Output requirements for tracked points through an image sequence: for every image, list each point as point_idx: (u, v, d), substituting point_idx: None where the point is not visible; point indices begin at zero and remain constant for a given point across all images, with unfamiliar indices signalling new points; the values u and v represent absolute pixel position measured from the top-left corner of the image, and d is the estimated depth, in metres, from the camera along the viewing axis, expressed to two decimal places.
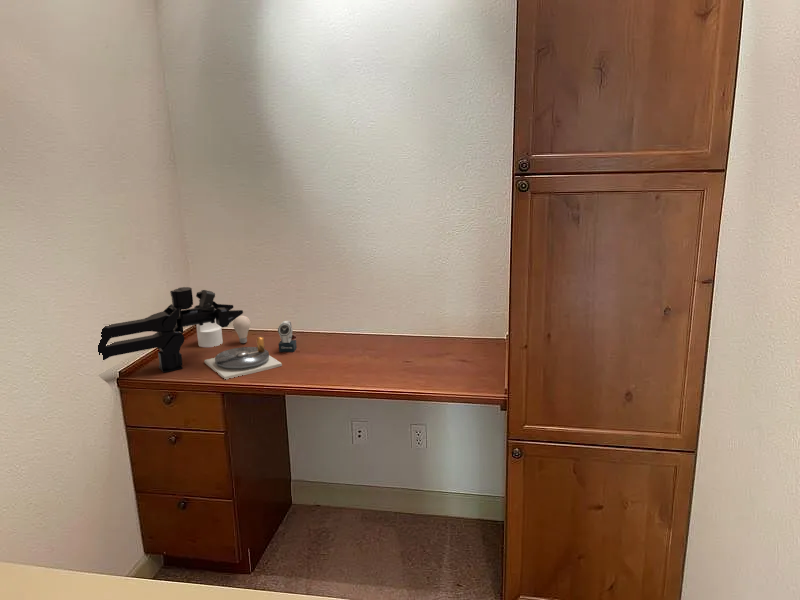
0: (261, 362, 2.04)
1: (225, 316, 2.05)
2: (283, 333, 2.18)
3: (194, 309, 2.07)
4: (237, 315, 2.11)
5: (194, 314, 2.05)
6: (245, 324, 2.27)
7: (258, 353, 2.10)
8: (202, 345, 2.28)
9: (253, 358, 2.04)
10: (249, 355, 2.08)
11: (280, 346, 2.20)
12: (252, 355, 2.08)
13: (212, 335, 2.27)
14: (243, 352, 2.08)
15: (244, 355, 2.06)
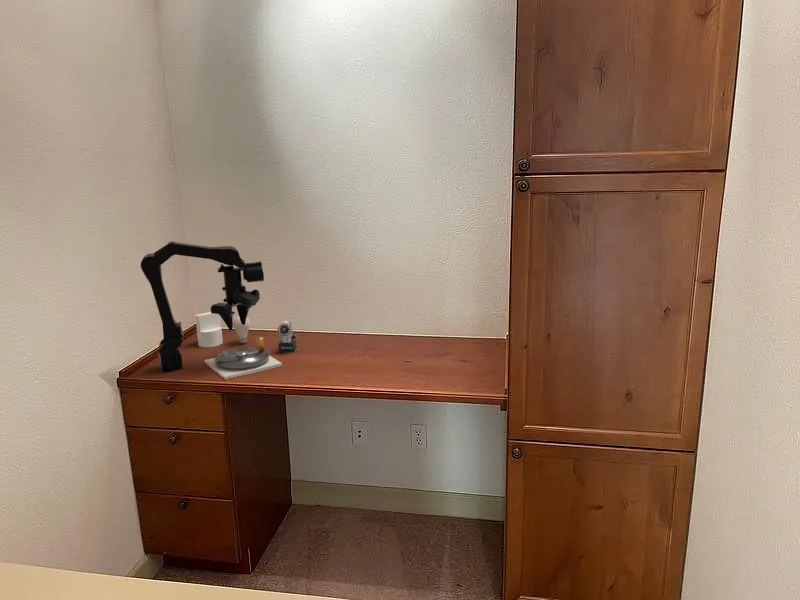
0: (261, 362, 2.04)
1: (218, 312, 2.00)
2: (283, 333, 2.18)
3: (238, 284, 2.05)
4: (226, 323, 2.06)
5: (237, 283, 2.04)
6: (245, 324, 2.27)
7: (258, 353, 2.10)
8: (202, 345, 2.28)
9: (253, 358, 2.04)
10: (249, 355, 2.08)
11: (280, 346, 2.20)
12: (252, 355, 2.08)
13: (212, 335, 2.27)
14: (243, 352, 2.08)
15: (244, 355, 2.06)
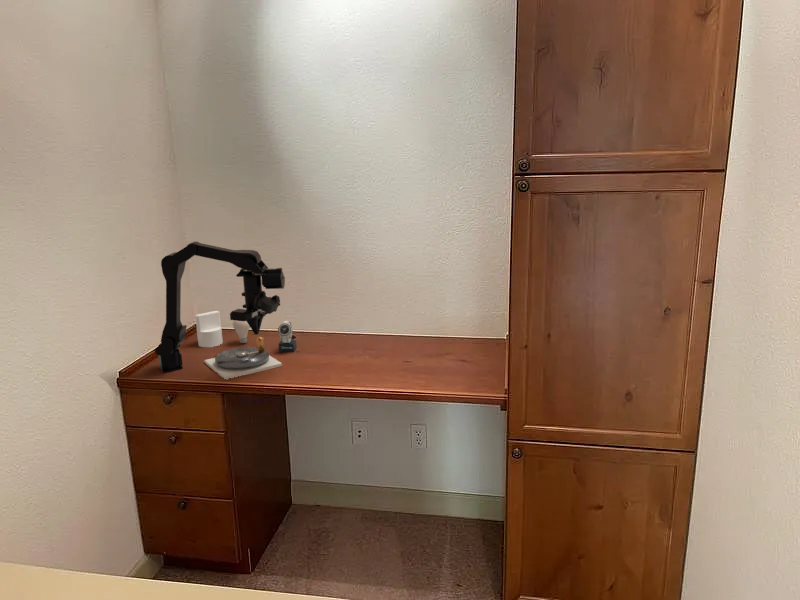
0: (261, 362, 2.04)
1: (238, 319, 1.93)
2: (283, 333, 2.18)
3: (258, 290, 1.98)
4: (252, 328, 2.02)
5: (255, 289, 1.97)
6: (245, 324, 2.27)
7: (258, 353, 2.10)
8: (202, 345, 2.28)
9: (253, 358, 2.04)
10: (249, 355, 2.08)
11: (280, 346, 2.20)
12: (252, 355, 2.08)
13: (212, 335, 2.27)
14: (243, 352, 2.08)
15: (244, 355, 2.06)
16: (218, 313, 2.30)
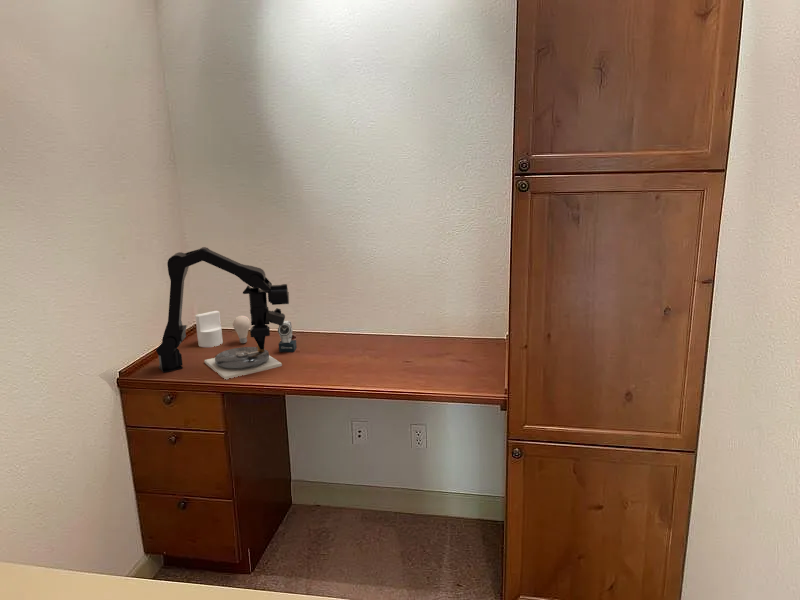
0: (261, 362, 2.04)
1: (262, 334, 1.98)
2: (283, 333, 2.18)
3: (266, 305, 2.05)
4: (259, 343, 2.07)
5: (261, 305, 2.03)
6: (245, 324, 2.27)
7: (258, 353, 2.10)
8: (202, 345, 2.28)
9: (253, 358, 2.04)
10: (249, 355, 2.08)
11: (280, 346, 2.20)
12: (252, 355, 2.08)
13: (212, 335, 2.27)
14: (243, 352, 2.08)
15: (244, 355, 2.06)
16: (218, 313, 2.30)
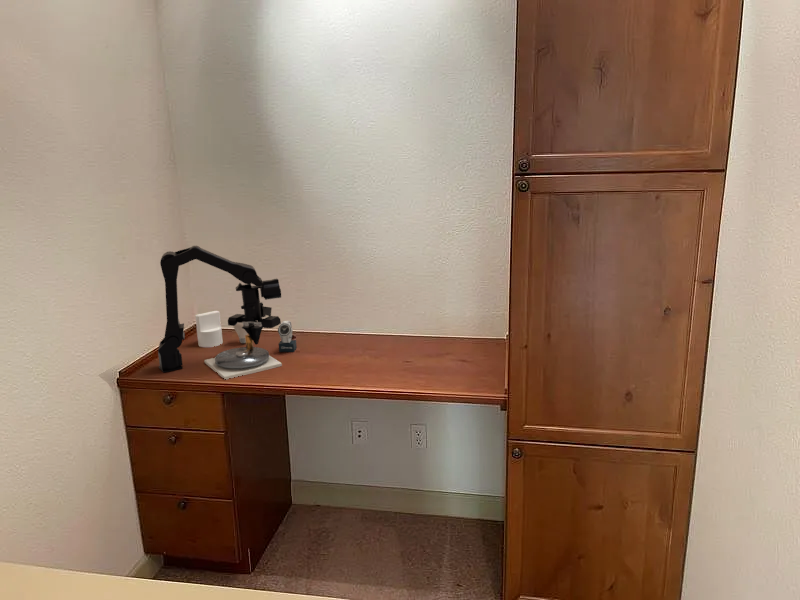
0: None
1: (277, 323, 2.08)
2: (283, 333, 2.18)
3: None
4: (256, 338, 2.12)
5: (255, 300, 2.08)
6: None
7: (252, 350, 2.13)
8: (202, 345, 2.28)
9: (259, 354, 2.09)
10: (249, 353, 2.10)
11: (280, 346, 2.20)
12: (251, 352, 2.10)
13: (212, 335, 2.27)
14: (242, 352, 2.08)
15: (247, 354, 2.08)
16: (218, 313, 2.30)
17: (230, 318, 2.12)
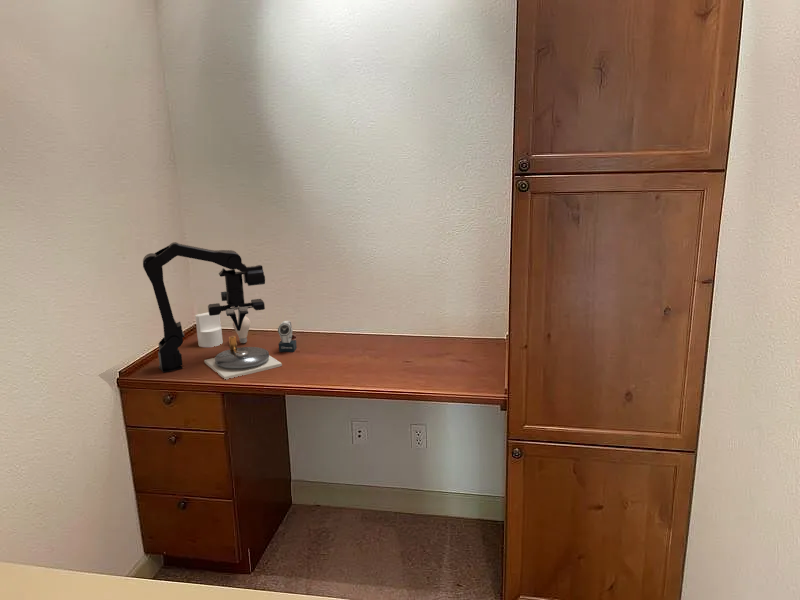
0: None
1: None
2: (283, 333, 2.18)
3: None
4: None
5: (239, 286, 2.07)
6: (245, 324, 2.27)
7: (240, 350, 2.13)
8: (202, 345, 2.28)
9: (255, 350, 2.13)
10: None
11: (280, 346, 2.20)
12: None
13: (212, 335, 2.27)
14: (241, 352, 2.08)
15: None
16: None
17: (212, 308, 2.05)
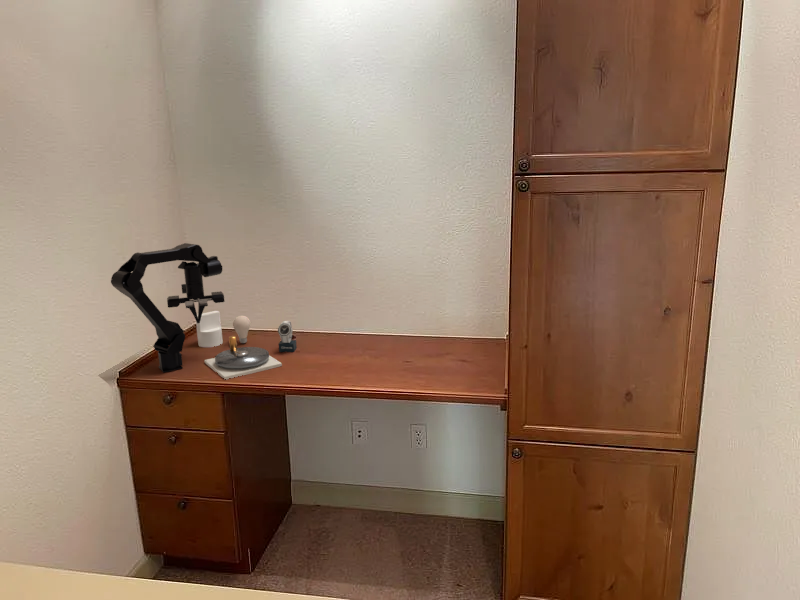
0: None
1: None
2: (283, 333, 2.18)
3: None
4: None
5: (201, 278, 2.09)
6: (245, 324, 2.27)
7: (240, 350, 2.13)
8: (202, 345, 2.28)
9: (255, 350, 2.13)
10: None
11: (280, 346, 2.20)
12: None
13: (212, 335, 2.27)
14: (241, 352, 2.08)
15: None
16: (218, 313, 2.30)
17: (171, 300, 2.06)
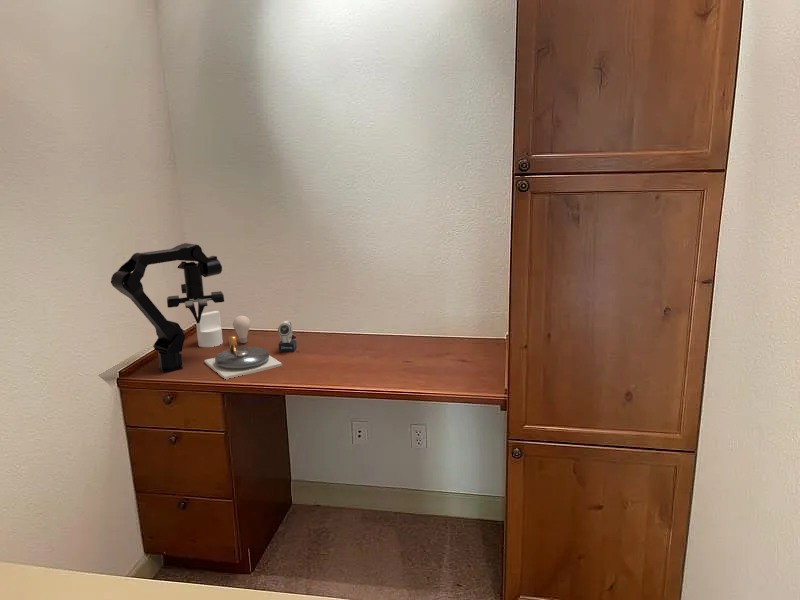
0: None
1: None
2: (283, 333, 2.18)
3: None
4: (200, 316, 2.12)
5: (201, 278, 2.09)
6: (245, 324, 2.27)
7: (240, 350, 2.13)
8: (202, 345, 2.28)
9: (255, 350, 2.13)
10: None
11: (280, 346, 2.20)
12: None
13: (212, 335, 2.27)
14: (241, 352, 2.08)
15: None
16: (218, 313, 2.30)
17: (171, 300, 2.06)
